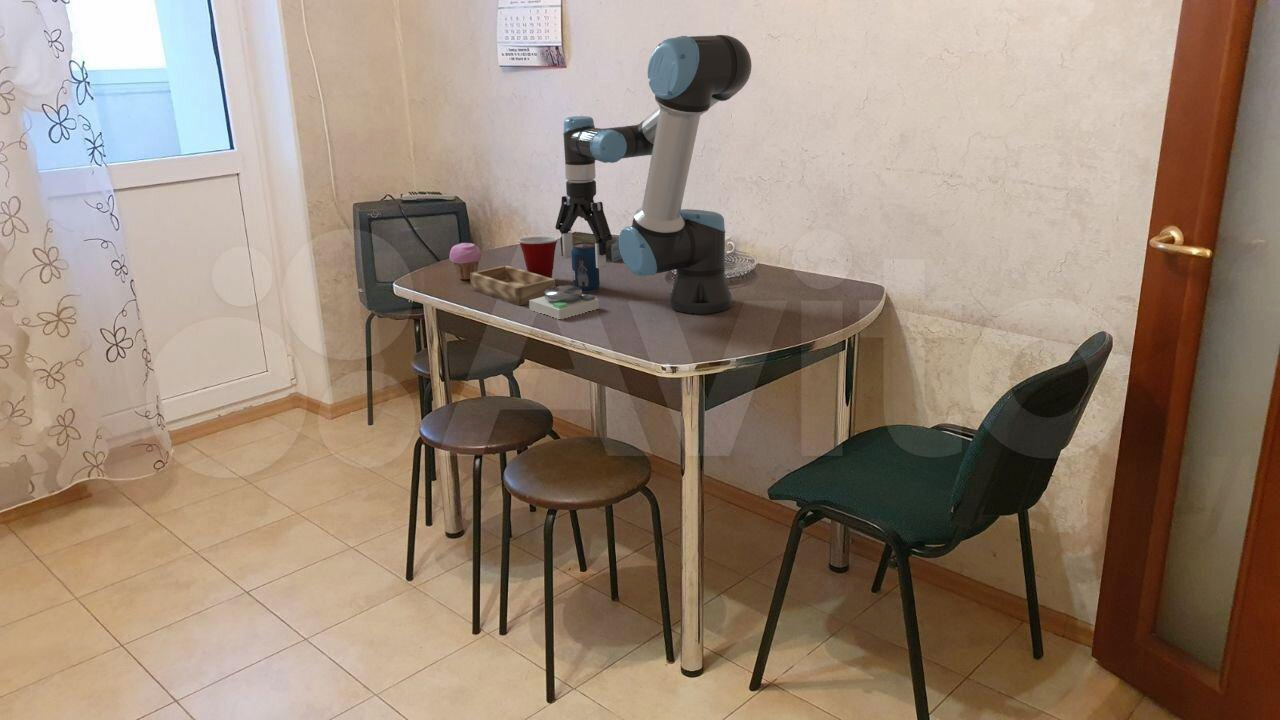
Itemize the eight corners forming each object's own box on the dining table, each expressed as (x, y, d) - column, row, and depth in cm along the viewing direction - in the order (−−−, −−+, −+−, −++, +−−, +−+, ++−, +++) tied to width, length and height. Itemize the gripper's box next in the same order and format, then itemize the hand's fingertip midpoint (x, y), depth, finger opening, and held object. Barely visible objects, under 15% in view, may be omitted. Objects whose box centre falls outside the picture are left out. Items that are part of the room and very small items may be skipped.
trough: (555, 296, 239) (554, 279, 238) (518, 305, 232) (517, 288, 231) (507, 281, 255) (506, 265, 253) (471, 289, 248) (469, 273, 246)
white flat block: (598, 309, 228) (598, 296, 226) (559, 320, 220) (558, 306, 219) (568, 299, 236) (567, 287, 235) (529, 310, 229) (528, 297, 227)
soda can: (594, 284, 249) (592, 240, 245) (603, 291, 243) (601, 245, 238) (569, 288, 246) (567, 243, 242) (578, 294, 240) (575, 248, 236)
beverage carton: (612, 263, 271) (611, 241, 268) (559, 256, 281) (558, 235, 279) (627, 257, 277) (626, 235, 275) (575, 251, 287) (574, 230, 285)
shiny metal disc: (589, 296, 227) (589, 290, 226) (559, 304, 221) (559, 298, 220) (566, 289, 233) (566, 283, 232) (537, 296, 227) (537, 291, 227)
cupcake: (483, 281, 256) (480, 245, 252) (451, 283, 254) (447, 247, 251) (483, 273, 264) (480, 238, 260) (452, 275, 263) (448, 240, 259)
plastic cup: (564, 275, 258) (561, 233, 254) (557, 286, 248) (554, 242, 244) (525, 276, 259) (522, 233, 255) (517, 286, 249) (513, 242, 245)
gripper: (624, 184, 228) (626, 268, 236) (562, 172, 246) (566, 251, 253) (601, 188, 224) (603, 274, 231) (539, 176, 241) (543, 256, 249)
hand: (584, 262), depth 242 cm, fingers open, 13 cm apart
